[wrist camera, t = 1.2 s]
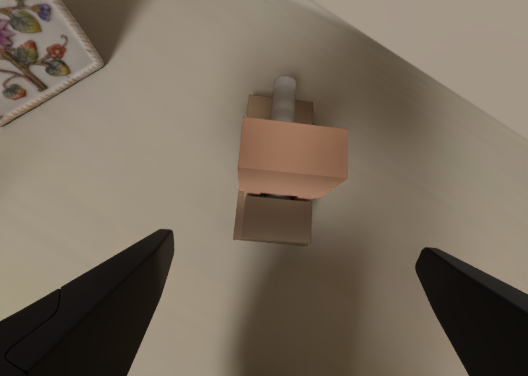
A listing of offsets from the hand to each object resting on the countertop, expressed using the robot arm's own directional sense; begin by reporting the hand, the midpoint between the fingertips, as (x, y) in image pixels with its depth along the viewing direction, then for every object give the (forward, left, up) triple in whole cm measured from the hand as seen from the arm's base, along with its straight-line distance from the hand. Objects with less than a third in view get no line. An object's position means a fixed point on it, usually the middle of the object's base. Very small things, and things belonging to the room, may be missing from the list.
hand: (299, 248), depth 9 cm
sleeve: (+5, -1, -12) cm, 13 cm away
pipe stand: (+8, -2, -14) cm, 16 cm away
